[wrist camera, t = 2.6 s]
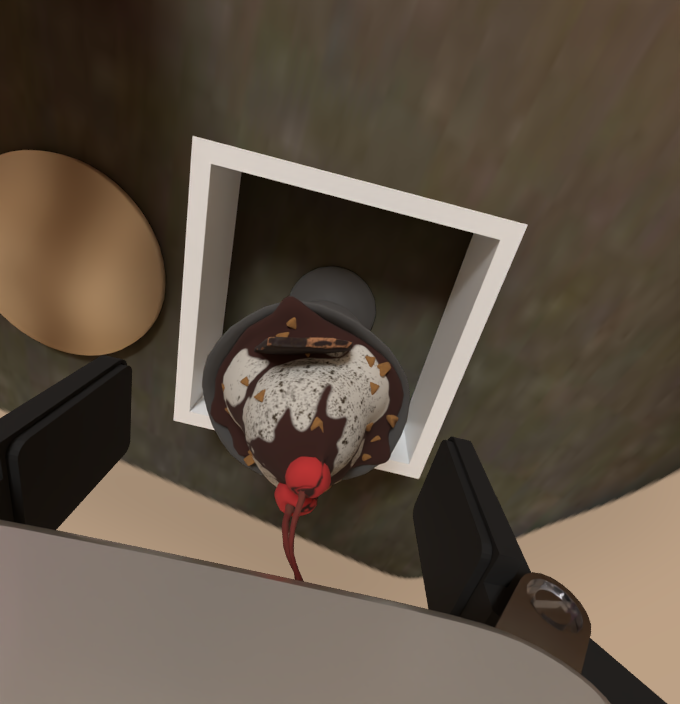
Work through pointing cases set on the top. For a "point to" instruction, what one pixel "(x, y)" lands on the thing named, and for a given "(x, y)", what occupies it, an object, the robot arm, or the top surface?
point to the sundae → (307, 392)
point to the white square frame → (224, 183)
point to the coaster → (75, 256)
